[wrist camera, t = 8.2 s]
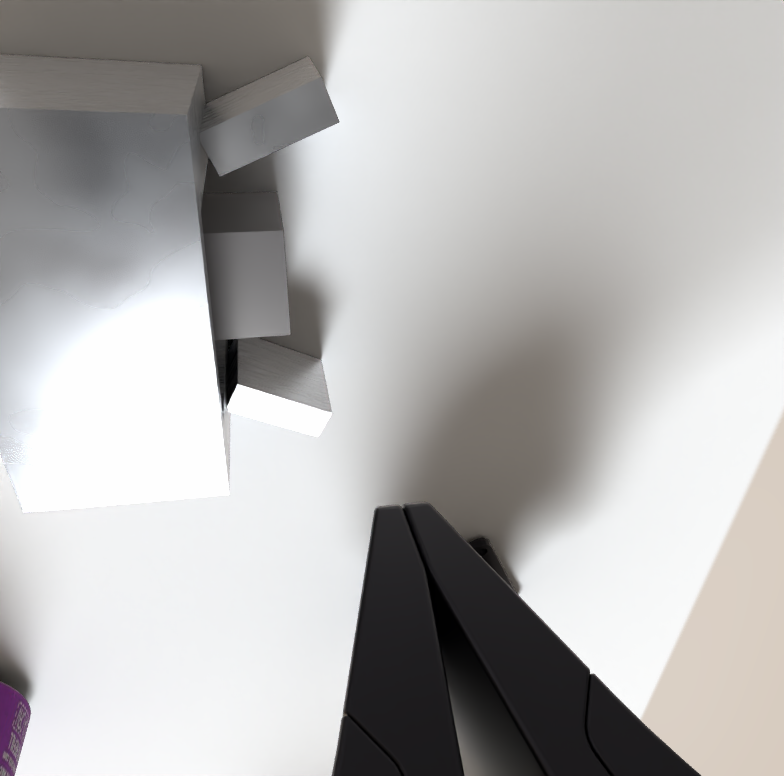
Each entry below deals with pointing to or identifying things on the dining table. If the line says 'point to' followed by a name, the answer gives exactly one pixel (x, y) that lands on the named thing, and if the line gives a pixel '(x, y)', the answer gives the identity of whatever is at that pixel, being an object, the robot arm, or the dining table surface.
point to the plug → (245, 264)
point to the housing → (132, 279)
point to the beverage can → (12, 727)
